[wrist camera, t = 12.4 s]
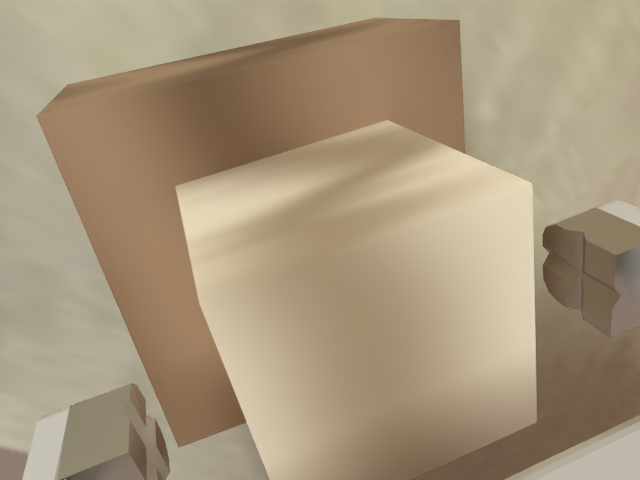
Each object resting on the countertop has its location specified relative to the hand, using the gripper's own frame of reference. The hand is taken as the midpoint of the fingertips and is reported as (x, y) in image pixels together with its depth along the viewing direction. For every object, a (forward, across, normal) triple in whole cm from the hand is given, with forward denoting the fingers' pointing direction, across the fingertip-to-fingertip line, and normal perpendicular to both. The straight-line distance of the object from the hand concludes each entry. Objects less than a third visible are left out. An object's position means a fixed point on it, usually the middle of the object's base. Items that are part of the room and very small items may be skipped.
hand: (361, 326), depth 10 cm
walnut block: (+8, 0, 0) cm, 8 cm away
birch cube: (+3, 0, 0) cm, 3 cm away
